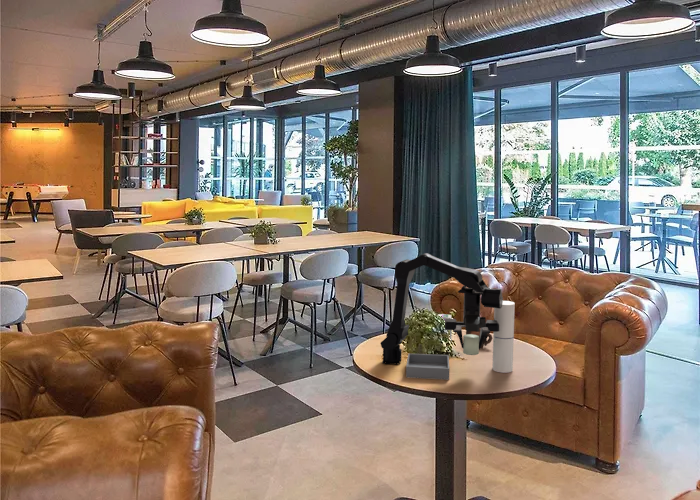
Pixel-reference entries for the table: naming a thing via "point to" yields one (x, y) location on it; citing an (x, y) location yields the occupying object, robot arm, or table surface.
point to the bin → (427, 366)
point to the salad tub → (471, 344)
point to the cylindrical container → (504, 338)
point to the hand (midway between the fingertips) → (470, 348)
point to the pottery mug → (479, 336)
